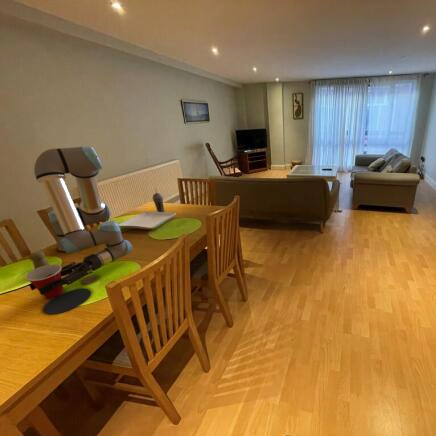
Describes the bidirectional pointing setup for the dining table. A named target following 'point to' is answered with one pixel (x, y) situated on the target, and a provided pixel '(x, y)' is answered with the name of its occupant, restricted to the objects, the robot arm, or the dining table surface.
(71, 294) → the slate mat
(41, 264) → the pepper shaker
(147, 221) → the square plate
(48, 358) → the dining table surface
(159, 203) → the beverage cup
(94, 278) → the cork coaster
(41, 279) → the plastic cup
